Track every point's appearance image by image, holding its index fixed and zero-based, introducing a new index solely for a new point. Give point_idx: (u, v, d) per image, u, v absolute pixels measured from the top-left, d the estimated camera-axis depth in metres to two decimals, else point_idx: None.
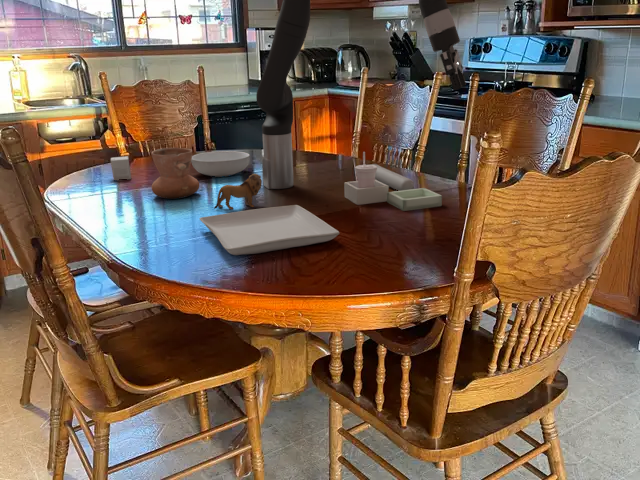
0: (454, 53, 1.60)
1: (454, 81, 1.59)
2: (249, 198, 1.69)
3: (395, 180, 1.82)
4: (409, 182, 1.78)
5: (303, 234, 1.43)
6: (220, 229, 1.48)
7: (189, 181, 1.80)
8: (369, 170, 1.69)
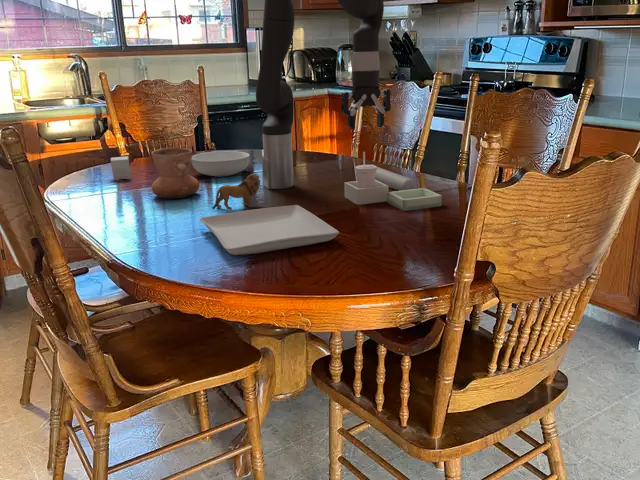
0: (362, 95, 1.63)
1: None
2: (247, 198, 1.69)
3: (395, 180, 1.82)
4: (410, 182, 1.78)
5: (303, 234, 1.43)
6: (220, 229, 1.48)
7: (189, 181, 1.80)
8: (369, 170, 1.69)
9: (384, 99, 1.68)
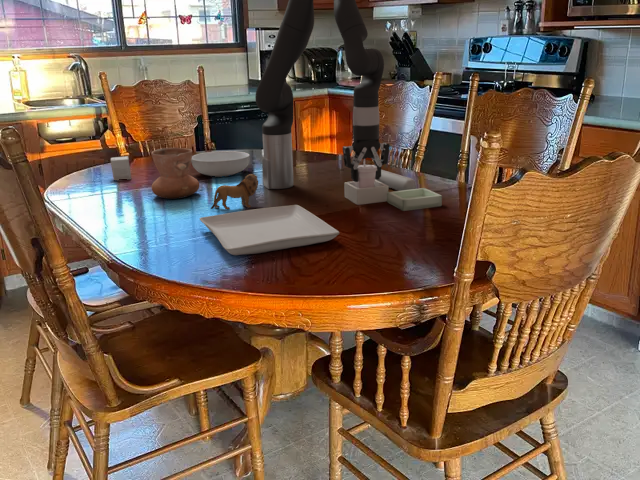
0: (362, 149, 1.68)
1: None
2: (246, 198, 1.69)
3: (396, 180, 1.82)
4: (412, 182, 1.79)
5: (303, 234, 1.43)
6: (220, 229, 1.48)
7: (189, 181, 1.80)
8: (369, 170, 1.69)
9: (382, 152, 1.72)
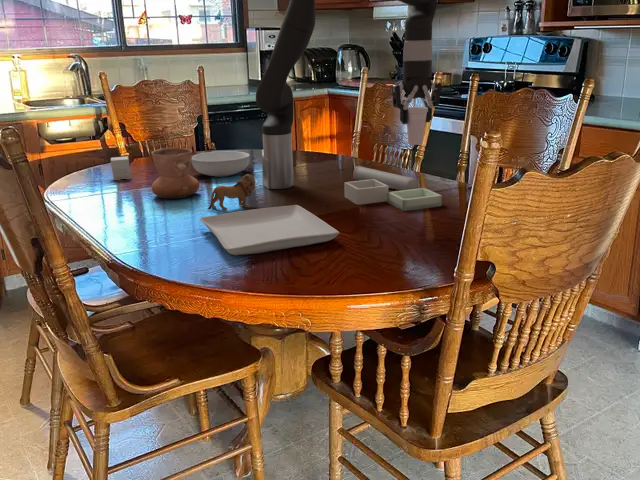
0: (413, 87, 1.56)
1: None
2: (243, 199, 1.68)
3: (397, 180, 1.82)
4: (414, 181, 1.79)
5: (303, 234, 1.43)
6: (220, 229, 1.48)
7: (189, 181, 1.80)
8: (421, 110, 1.57)
9: (434, 92, 1.60)
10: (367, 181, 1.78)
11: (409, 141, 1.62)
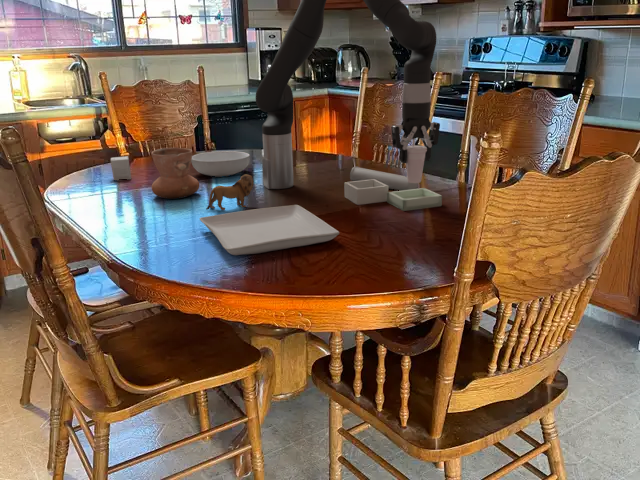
0: (412, 128, 1.59)
1: None
2: (241, 199, 1.68)
3: (397, 180, 1.82)
4: None
5: (303, 234, 1.43)
6: (220, 229, 1.48)
7: (189, 181, 1.80)
8: (420, 150, 1.60)
9: (432, 132, 1.64)
10: (367, 181, 1.78)
11: (408, 179, 1.65)
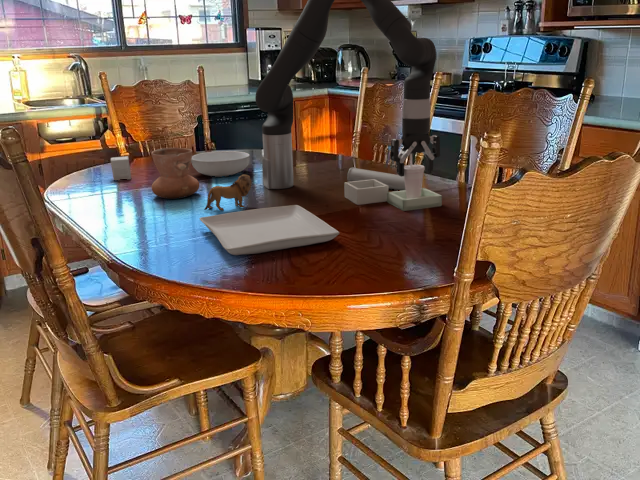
0: (412, 143, 1.60)
1: None
2: (239, 199, 1.68)
3: (398, 180, 1.82)
4: None
5: (303, 234, 1.43)
6: (220, 229, 1.48)
7: (189, 181, 1.80)
8: (418, 170, 1.62)
9: (433, 145, 1.65)
10: (367, 181, 1.78)
11: (408, 198, 1.67)
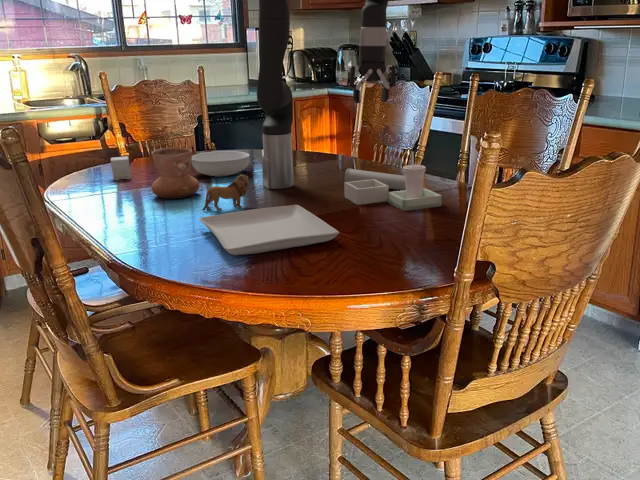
0: (368, 70, 1.68)
1: None
2: (237, 199, 1.68)
3: (398, 180, 1.82)
4: None
5: (303, 234, 1.43)
6: (220, 229, 1.48)
7: (189, 181, 1.80)
8: (419, 170, 1.62)
9: (389, 75, 1.73)
10: (367, 181, 1.78)
11: (408, 198, 1.67)
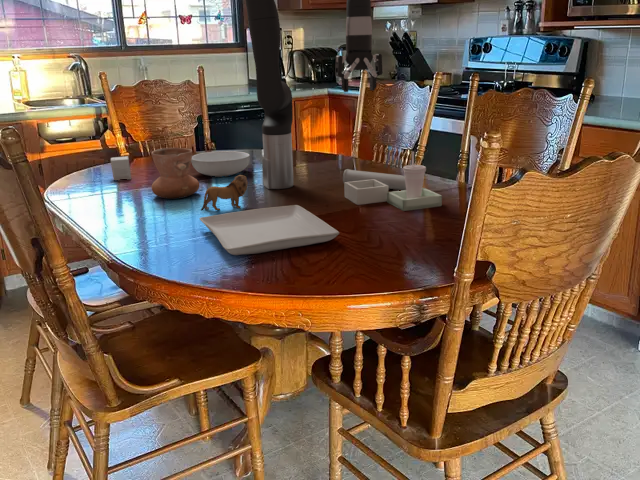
0: (355, 59, 1.72)
1: None
2: (236, 199, 1.68)
3: (399, 180, 1.82)
4: None
5: (303, 234, 1.43)
6: (220, 229, 1.48)
7: (189, 181, 1.80)
8: (419, 170, 1.62)
9: (376, 63, 1.76)
10: (367, 181, 1.78)
11: (408, 198, 1.67)
